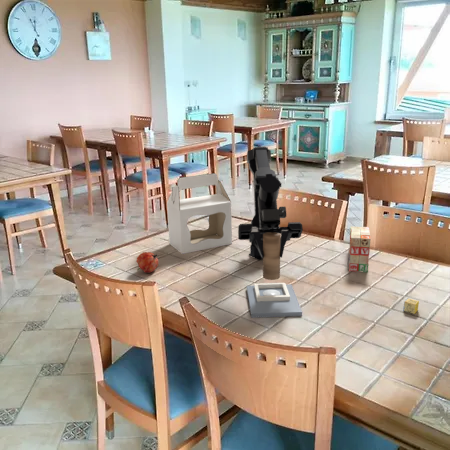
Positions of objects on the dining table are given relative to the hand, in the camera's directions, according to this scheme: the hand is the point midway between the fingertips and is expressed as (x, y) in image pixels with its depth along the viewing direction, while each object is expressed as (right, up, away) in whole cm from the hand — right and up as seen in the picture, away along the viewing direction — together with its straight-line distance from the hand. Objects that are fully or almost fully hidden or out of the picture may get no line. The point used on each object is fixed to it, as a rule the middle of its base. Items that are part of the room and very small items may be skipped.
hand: (272, 257), depth 133 cm
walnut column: (0, -6, +3) cm, 7 cm away
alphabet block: (+38, -15, -4) cm, 41 cm away
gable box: (-23, +1, +52) cm, 57 cm away
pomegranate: (-40, -7, +27) cm, 49 cm away
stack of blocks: (+34, -4, +32) cm, 47 cm away
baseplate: (0, -13, +2) cm, 13 cm away
